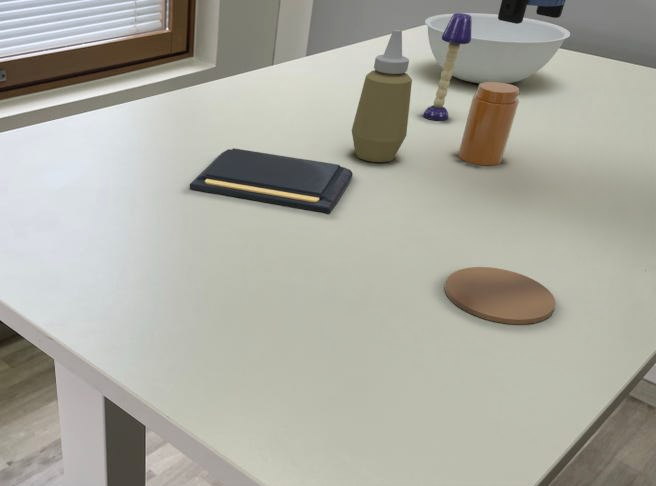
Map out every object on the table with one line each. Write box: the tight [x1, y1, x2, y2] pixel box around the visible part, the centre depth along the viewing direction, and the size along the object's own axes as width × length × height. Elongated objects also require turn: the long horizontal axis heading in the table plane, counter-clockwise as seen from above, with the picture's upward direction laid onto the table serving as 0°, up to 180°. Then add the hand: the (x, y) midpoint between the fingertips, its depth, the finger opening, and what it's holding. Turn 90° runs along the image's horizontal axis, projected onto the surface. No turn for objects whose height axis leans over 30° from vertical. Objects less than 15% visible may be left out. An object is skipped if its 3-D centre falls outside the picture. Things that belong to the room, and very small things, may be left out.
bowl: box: [424, 12, 571, 84], centre depth 146 cm, size 27×27×10 cm
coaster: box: [444, 266, 556, 325], centre depth 77 cm, size 11×11×1 cm
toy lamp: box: [423, 12, 472, 121], centre depth 122 cm, size 5×5×17 cm
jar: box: [457, 82, 520, 166], centre depth 108 cm, size 6×6×11 cm
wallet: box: [189, 147, 353, 214], centre depth 101 cm, size 20×2×15 cm
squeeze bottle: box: [351, 29, 413, 163], centre depth 105 cm, size 8×8×18 cm
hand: (529, 17), depth 91 cm, fingers closed on lid, 7 cm apart
